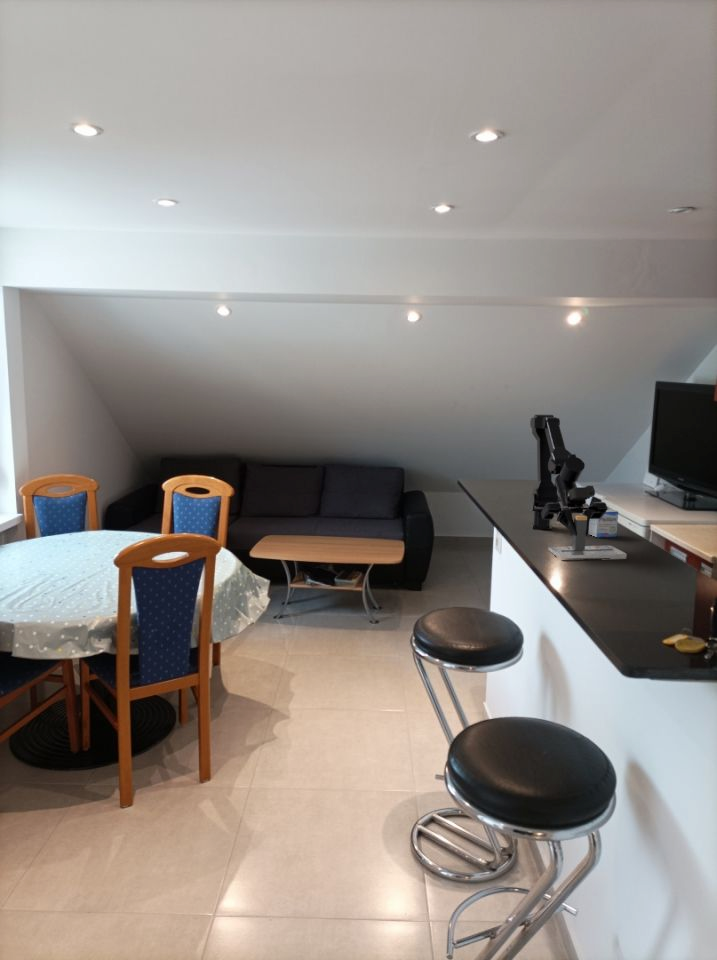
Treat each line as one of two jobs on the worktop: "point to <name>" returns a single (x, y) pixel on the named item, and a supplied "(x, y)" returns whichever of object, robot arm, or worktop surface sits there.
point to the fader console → (589, 552)
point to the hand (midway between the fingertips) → (581, 535)
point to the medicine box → (604, 525)
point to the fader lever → (579, 532)
